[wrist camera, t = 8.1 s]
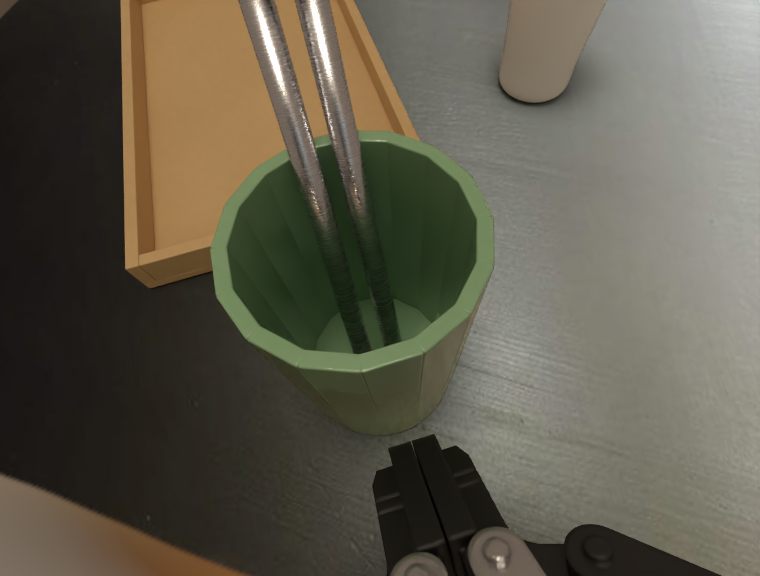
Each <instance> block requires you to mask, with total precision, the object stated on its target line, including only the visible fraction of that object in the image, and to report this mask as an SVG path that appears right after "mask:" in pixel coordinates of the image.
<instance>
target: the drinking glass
mask: <svg viewBox="0 0 760 576" xmlns="http://www.w3.org/2000/svg"><path fill="white" fill-rule="evenodd" d="M606 2H607V0H510V4H509V12H508V20H507V28H506V35H505V42H504V50H503V56H502V60H501V65H500V70H499V81H500V84H501V86H502V88H503V89H504V90H505V92H506V93H507V94H509V95H510V96H512V97H513V98H515V99H518V100H520V101H524V102H530V103H539V102H545V101H549V100H551V99H554V98H556V97H557V96H559V95H560V94H561V93H562V92H563V91H564V90H565V89H566V87H567V85H568V83H569V81H570V78H571V76H572V73H573V71H574V68H575V66H576V64H577V61H578V59H579V57H580V55H581V53H582V51H583V49H584V47H585V45H586V43H587V41H588V39H589V37H590V35H591V33H592V31H593V28H594V26H595V24H596V22H597V20H598V18H599V16H600V14H601V12H602V10H603V8H604V6H605V4H606Z"/></svg>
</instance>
